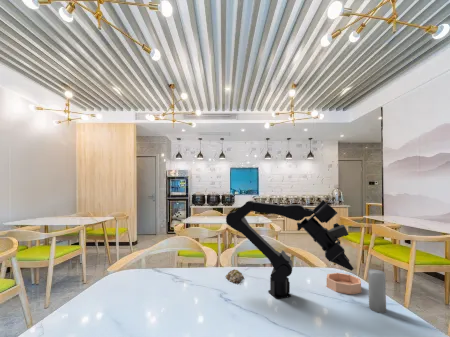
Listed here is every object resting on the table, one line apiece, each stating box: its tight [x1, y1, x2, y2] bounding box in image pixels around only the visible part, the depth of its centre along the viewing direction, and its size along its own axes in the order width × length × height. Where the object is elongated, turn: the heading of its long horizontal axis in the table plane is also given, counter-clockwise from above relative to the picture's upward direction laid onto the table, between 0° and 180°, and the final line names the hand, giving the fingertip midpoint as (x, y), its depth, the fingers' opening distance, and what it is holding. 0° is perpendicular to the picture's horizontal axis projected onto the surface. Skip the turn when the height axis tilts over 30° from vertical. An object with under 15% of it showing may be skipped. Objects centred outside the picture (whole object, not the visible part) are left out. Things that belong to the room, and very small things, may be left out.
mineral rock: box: [225, 269, 245, 284], centre depth 111 cm, size 11×4×8 cm
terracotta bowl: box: [326, 272, 362, 295], centre depth 103 cm, size 13×13×4 cm
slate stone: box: [367, 268, 387, 314], centre depth 85 cm, size 5×5×12 cm
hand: (350, 265), depth 88 cm, fingers open, 9 cm apart
